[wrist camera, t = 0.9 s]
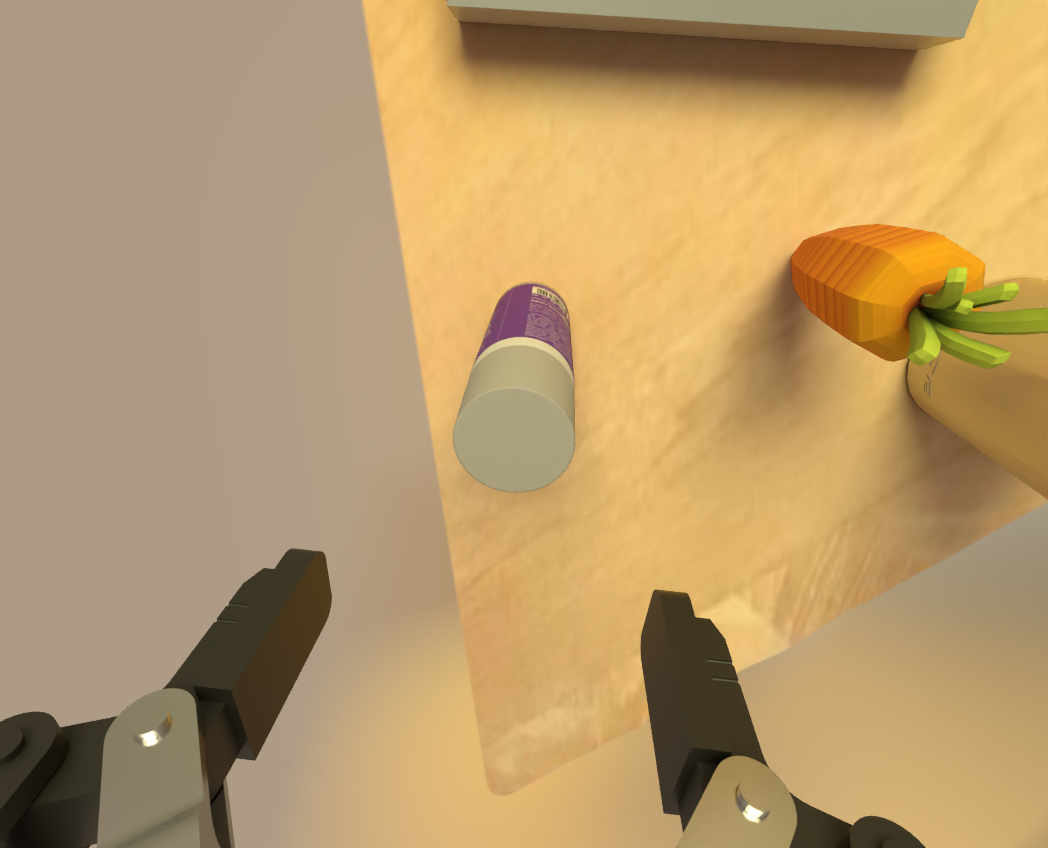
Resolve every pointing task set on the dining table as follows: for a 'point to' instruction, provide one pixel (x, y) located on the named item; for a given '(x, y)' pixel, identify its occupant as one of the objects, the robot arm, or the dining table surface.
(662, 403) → the dining table surface
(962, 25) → the open tray
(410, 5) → the dining table surface
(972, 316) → the carrot
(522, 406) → the container
